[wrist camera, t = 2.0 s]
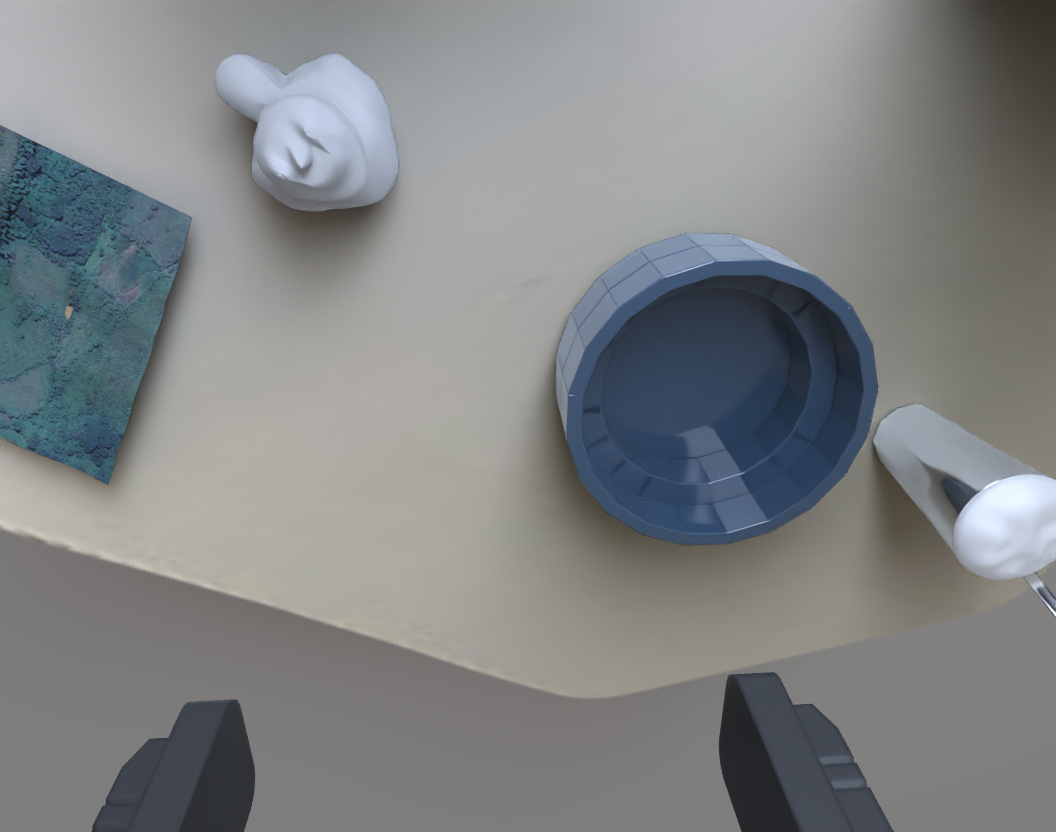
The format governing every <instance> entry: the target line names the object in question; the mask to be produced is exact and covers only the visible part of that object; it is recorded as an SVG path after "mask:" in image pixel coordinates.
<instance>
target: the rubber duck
mask: <svg viewBox="0 0 1056 832" xmlns="http://www.w3.org/2000/svg"><path fill="white" fill-rule="evenodd" d="M215 88H216V91H217V94H218V96H219V97H220V98H221V99H222V100H223V101H224V102H225V103H227V104H228V105H229V106H231V107H232V108H233V109H235V110H236V111H237V112H239V113H240V114H242V115H244V116H245V117H247V118H249V119H251V120H253V121H255V122H257V123H258V124H257V128H256V132H255V135H254V140H253V147H254V154H253V160H252V175H253V179H254V181H255V182H256V183H257V184H258V185H259V186H260V187H261V188H262V189H264V190H265V191H266V192H268V193H269V194H270V195H272V196H273V197H275V198H276V199H277V200H279V201H280V202H281V203H283V204H284V205H286V206H288V207H290V208H293V209H298V210H304V211H324V210H328V209H344V208H352V207H359V206H365V205H371V204H374V203H377V202H379V201H381V200H382V199H383V198H384V197H385V196H386V195H387V194H388V193H389V191H390V190H391V189H392V187H393V186H394V184H395V182H396V179H397V175H398V166H399V160H398V152H397V146H396V141H395V137H394V133H393V130H392V127H391V115H390V110H389V107H388V104H387V102H386V99H385V97H384V95H383V93H382V91H381V90H380V88H379V86H378V85H377V84H376V83H375V81H374V80H373V79H372V78H371V77H369V76H368V75H367V74H366V73H365V72H364V71H362V70H361V69H360V68H359V67H357V66H356V65H355V64H354V63H353V62H351V61H350V60H349V59H348V58H346V57H345V56H343V55H341V54H337V53H331V54H326V55H323V56H321V57H319V58H317V59H315V60H313V61H311V62H306V63H303V64H301V65H300V66H299V67H297V68H296V69H295V70H293V71H292V72H291V73H289V74H288V75H284V74H283V73H282V72H281V71H280V70H279V69H278V68H276V67H275V66H273V65H272V64H269V63H267V62H262V61H259V60H257V59H256V58H254V57H252V56H249V55H246V54H235V55H232V56H230V57H228V58H226V59H225V60H224V61H223V62H222V63H221V64H220V65H219V67H218V69H217V72H216V75H215Z"/></svg>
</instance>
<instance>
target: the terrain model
mask: <svg viewBox="0 0 1056 832" xmlns="http://www.w3.org/2000/svg"><path fill="white" fill-rule="evenodd" d="M191 220H192V217H190V216H188V215H186V214H184V213H182V212H180V211H178V210H175V209H173V208H171V207H169V206H167V205H165V204H163V203H161V202H159V201H157V200H155V199H153V198H151V197H149V196H146V195H144V194H142V193H140V192H138V191H136V190H134V189H132V188H130V187H128V186H126V185H124V184H122V183H119V182H117V181H115V180H113V179H111V178H109V177H107V176H105V175H103V174H101V173H99V172H97V171H94V170H92V169H90V168H88V167H86V166H84V165H82V164H80V163H78V162H76V161H74V160H72V159H69V158H67V157H65V156H63V155H61V154H59V153H57V152H55V151H53V150H51V149H49V148H46V147H44V146H42V145H40V144H38V143H36V142H34V141H32V140H30V139H28V138H26V137H23V136H21V135H19V134H17V133H15V132H13V131H11V130H9V129H7V128H5V127H3V126H0V437H1V438H3V439H5V440H8V441H10V442H12V443H14V444H16V445H18V446H20V447H22V448H24V449H27V450H29V451H32V452H34V453H37V454H39V455H42V456H44V457H47V458H50V459H52V460H55V461H58V462H61V463H63V464H66V465H68V466H71V467H73V468H75V469H78V470H80V471H82V472H84V473H87V474H89V475H91V476H93V477H95V478H97V479H98V480H100V481H102V482H104V483H106V484H107V485H109V482H110V478H111V475H112V472H113V468H114V463H115V460H116V456H117V452H118V449H119V445H120V443H121V440H122V437H123V435H124V432H125V430H126V427H127V424H128V420H129V417H130V414H131V410H132V406H133V402H134V399H135V395H136V393H137V390H138V387H139V384H140V382H141V379H142V376H143V374H144V372H145V370H146V367H147V365H148V362H149V358H150V355H151V351H152V348H153V344H154V339H155V335H156V333H157V330H158V328H159V325H160V323H161V320H162V317H163V313H164V309H165V303H166V299H167V296H168V293H169V291H170V288H171V286H172V283H173V281H174V278H175V275H176V273H177V270H178V267H179V264H180V260H181V256H182V253H183V249H184V245H185V241H186V237H187V233H188V230H189V226H190V223H191Z"/></svg>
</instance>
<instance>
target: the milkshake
mask: <svg viewBox="0 0 1056 832" xmlns="http://www.w3.org/2000/svg"><path fill="white" fill-rule="evenodd" d="M873 443H874V445H875V448H876V451H877V454H878V457H879V459H880V460H881V461H882V463H883V464H884V465H885V466H886V468H887V469H888V470H889V471H890V473H891V474H892V475H893V476H894V478H895V479H896V480H897V481H898V483H899V484H900V485H901V486H902V488H903V489H904V490H905V491H906V493H907V494H908V495H909V496H910V497H911V499H912V500H913V501H914V502H915V504H916V505H917V506H918V507H919V509H920V510H921V511H922V512H923V513H924V515H925V516H926V517H927V518H928V520H929V521H930V522H931V524H932V525H933V526H934V528H935V529H936V530H937V532H938V533H939V534H940V536H941V537H942V538H943V540H944V541H945V542H946V544H947V545H948V546H949V548H950V549H951V550H952V552H953V553H954V555H955V556H956V557H957V559H958V560H959V562H960V563H961V564H962V566H963V567H964V568H966V569H967V570H968V571H970V572H972V573H974V574H977V575H979V576H981V577H984V578H987V579H991V580H1009V579H1013V578H1018V577H1022V576H1023V577H1024V579H1025V580H1026V581H1027V583H1028V584H1029V585H1030V586H1031V588H1032V589H1033V590H1034V591H1035V593H1036V594H1037V595H1038V596H1039V597H1040V599H1041V600H1042V601H1043V602H1044V604H1045V605H1046V606H1047V608H1048V609H1049V610H1050V611H1051V612H1052V614H1053V615H1054V616H1055V617H1056V597H1055V596H1054V595H1053V593H1052V592H1051V591H1050V590H1049V589H1048V587H1047V586H1046V585H1045V584H1044V582H1042V580H1041V579H1040V577H1039V576H1038V575H1037V574H1036V573H1035V572H1036V571H1038V570H1040V569H1042V568H1043V567H1045V566H1047V565H1048V564H1050V563H1052V562H1053V561H1055V560H1056V480H1054V479H1052V478H1050V477H1048V476H1046V475H1044V474H1043V473H1041V472H1039V471H1037V470H1035V469H1034V468H1032V467H1030V466H1028V465H1026V464H1025V463H1023V462H1021V461H1019V460H1017V459H1016V458H1014V457H1012V456H1010V455H1008V454H1006V453H1004V452H1002V451H1000V450H998V449H996V448H995V447H993V446H991V445H990V444H988V443H986V442H985V441H983V440H981V439H980V438H978V437H977V436H975V435H973V434H972V433H970V432H968V431H967V430H965V429H963V428H962V427H960V426H959V425H957V424H955V423H954V422H952V421H950V420H949V419H947V418H946V417H944V416H942V415H941V414H939V413H937V412H935V411H933V410H931V409H929V408H927V407H925V406H923V405H921V404H915V405H910V406H903V407H898V408H897V409H895V410H894V411H893V412H892V413H890V414H889V415H888V416H887V417H885V418H884V419H883V420H882V421H880V423H879V426H878V429H877V431H876V434H875V436H874V439H873Z"/></svg>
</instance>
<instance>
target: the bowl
mask: <svg viewBox="0 0 1056 832" xmlns="http://www.w3.org/2000/svg"><path fill="white" fill-rule="evenodd" d="M877 394H878V381H877V373H876V365H875V357H874V350H873V344H872V342H871V340H870V338H869V336H868V334H867V333H866V331H865V329H864V327H863V325H862V323H861V321H860V320H859V318H858V316H857V314H856V312H855V310H854V309H853V307H852V306H851V304H850V303H849V302H847V301H846V300H845V299H844V298H842V297H841V296H840V295H839V294H838V293H836V292H835V291H834V290H833V289H832V288H830V287H829V286H828V285H827V284H826V283H824V282H823V281H822V280H821V279H819V278H818V277H817V276H816V275H814V274H812V273H811V272H809V271H808V270H806V269H805V268H803V267H801V266H800V265H798V264H797V263H795V262H793V261H792V260H790V259H789V258H787V257H785V256H784V255H782V254H781V253H779V252H778V251H776V250H774V249H772V248H771V247H769V246H766V245H763V244H760V243H757V242H754V241H751V240H748V239H745V238H742V237H739V236H736V235H733V234H729V233H685V234H681V235H678V236H675V237H672V238H669V239H666V240H663V241H660V242H657V243H654V244H651V245H648V246H645V247H641V248H640V249H638V250H636V251H634V252H633V253H632V254H630V255H629V256H627V257H626V258H624V259H623V260H622V261H620V262H619V263H617V264H616V265H615V266H613V267H612V268H610V269H609V270H607V271H606V272H605V273H603V274H602V275H601V277H599V278H598V279H597V280H596V281H595V283H594V284H593V285H592V286H591V288H590V289H589V290H588V292H587V293H586V294H585V296H584V297H583V298H582V299H581V301H580V302H579V303H578V305H577V306H576V307H575V308H574V310H573V312H572V313H571V315H570V317H569V320H568V323H567V326H566V328H565V331H564V334H563V336H562V339H561V342H560V345H559V347H558V350H557V354H556V397H557V402H558V406H559V410H560V414H561V419H562V423H563V427H564V431H565V436H566V440H567V443H568V446H569V449H570V452H571V455H572V458H573V461H574V464H575V467H576V470H577V473H578V476H579V479H580V481H581V482H582V484H583V485H584V486H585V487H586V489H587V490H588V491H589V492H590V494H591V495H592V496H593V497H594V499H595V500H596V501H597V502H598V503H599V505H600V506H601V507H602V508H603V510H604V511H605V512H607V513H608V514H609V515H611V516H613V517H614V518H616V519H617V520H619V521H621V522H622V523H624V524H625V525H627V526H629V527H630V528H632V529H633V530H635V531H637V532H638V533H640V534H642V535H645V536H649V537H653V538H657V539H661V540H665V541H669V542H672V543H676V544H680V545H683V544H684V545H713V544H731V543H734V542H738V541H741V540H745V539H748V538H752V537H755V536H758V535H762V534H765V533H769V532H772V530H773V531H774V530H775V529H777V528H779V527H781V526H782V525H784V524H786V523H787V522H789V521H791V520H792V519H794V518H796V517H797V516H799V515H801V514H803V513H804V512H806V511H808V510H809V509H811V508H812V506H815V505H816V504H817V503H818V502H819V501H820V500H821V499H822V498H823V497H824V496H825V495H826V494H827V493H828V492H829V491H830V490H831V489H832V488H833V487H834V486H835V485H836V484H837V483H838V482H839V481H840V480H841V479H842V478H843V477H844V476H845V473H847V471H848V470H849V468H850V466H851V464H852V463H853V461H854V459H855V457H856V456H857V454H858V452H859V450H860V448H861V447H862V445H863V443H864V441H865V440H866V438H867V436H868V433H869V431H870V426H871V422H872V417H873V412H874V408H875V403H876V399H877Z"/></svg>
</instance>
